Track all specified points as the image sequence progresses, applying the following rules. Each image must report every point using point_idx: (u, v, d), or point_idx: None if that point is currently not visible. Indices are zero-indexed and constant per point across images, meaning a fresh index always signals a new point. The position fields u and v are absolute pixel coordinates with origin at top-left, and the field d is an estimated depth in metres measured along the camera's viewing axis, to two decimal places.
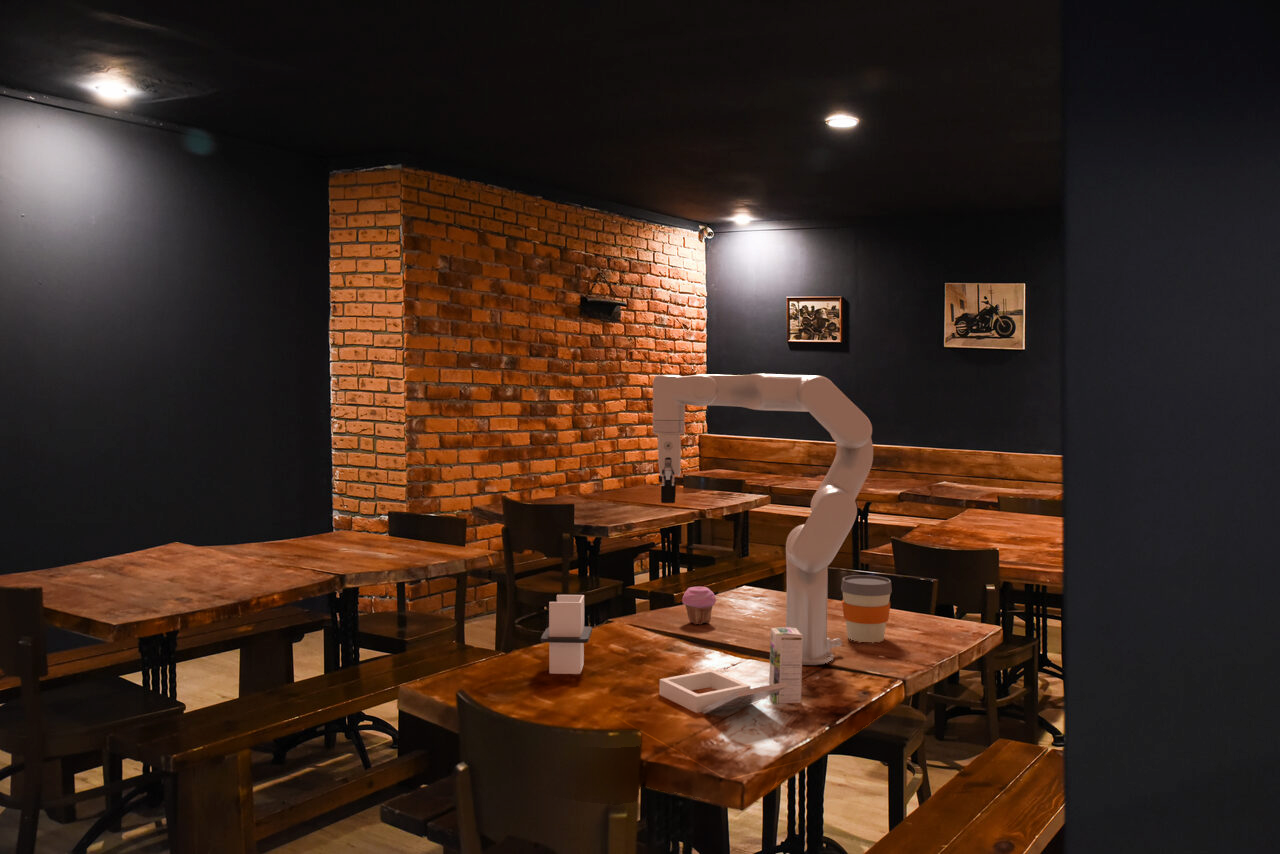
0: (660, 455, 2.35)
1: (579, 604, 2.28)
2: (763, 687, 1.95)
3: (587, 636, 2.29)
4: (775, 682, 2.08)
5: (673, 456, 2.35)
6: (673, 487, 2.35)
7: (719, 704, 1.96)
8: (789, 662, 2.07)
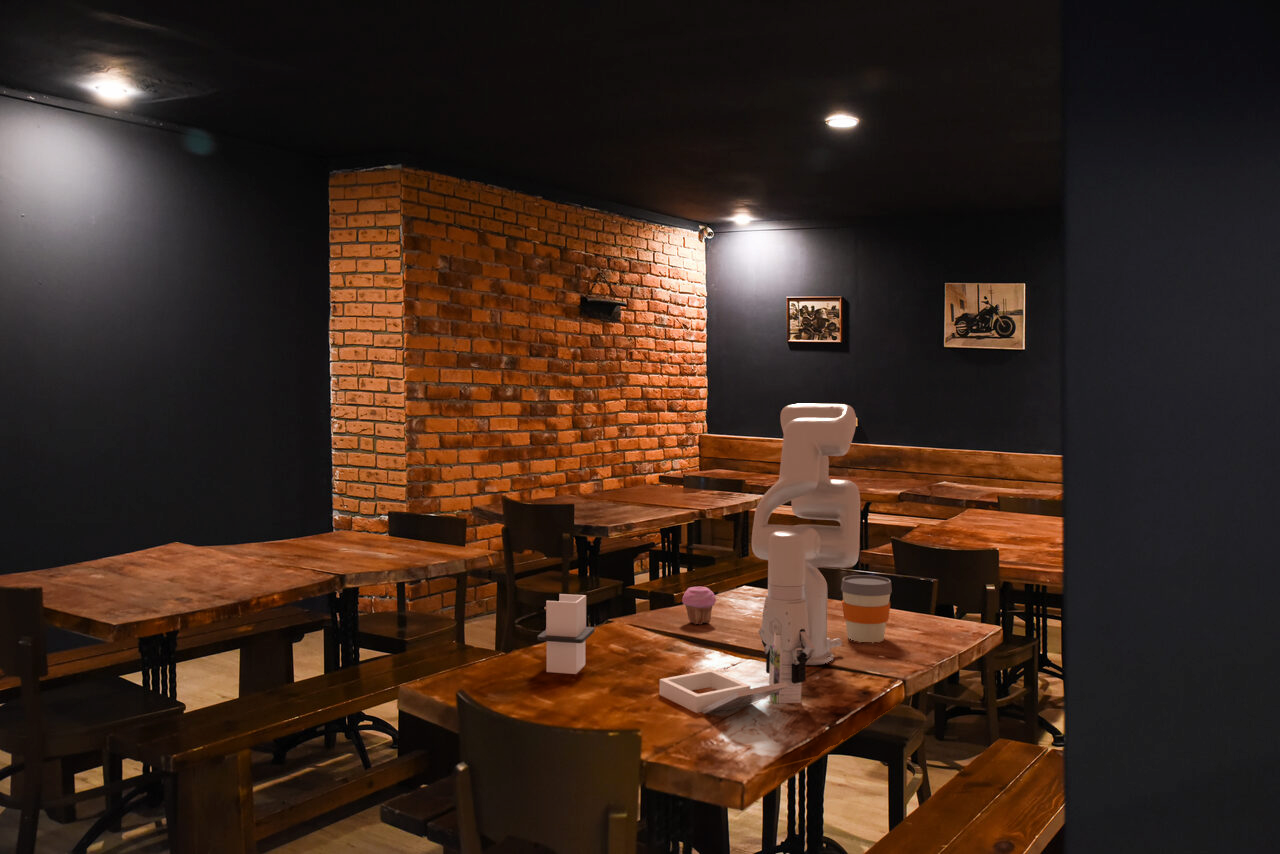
0: None
1: (575, 604, 2.28)
2: (763, 687, 1.95)
3: (583, 636, 2.28)
4: (775, 682, 2.08)
5: None
6: None
7: (719, 704, 1.96)
8: (789, 662, 2.07)
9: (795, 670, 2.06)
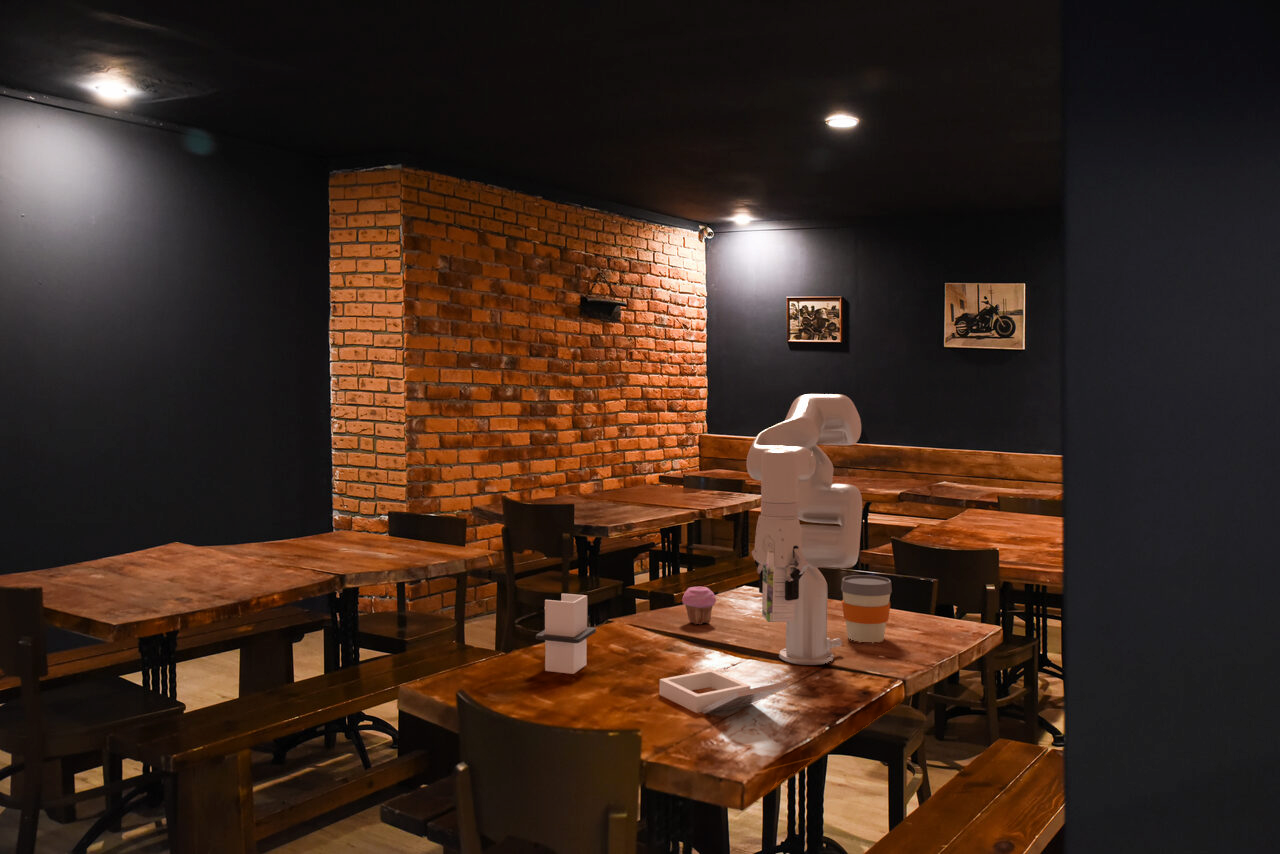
0: None
1: (572, 604, 2.28)
2: (763, 687, 1.95)
3: (580, 637, 2.28)
4: (768, 600, 2.07)
5: None
6: None
7: (719, 704, 1.96)
8: (783, 580, 2.07)
9: (788, 587, 2.05)
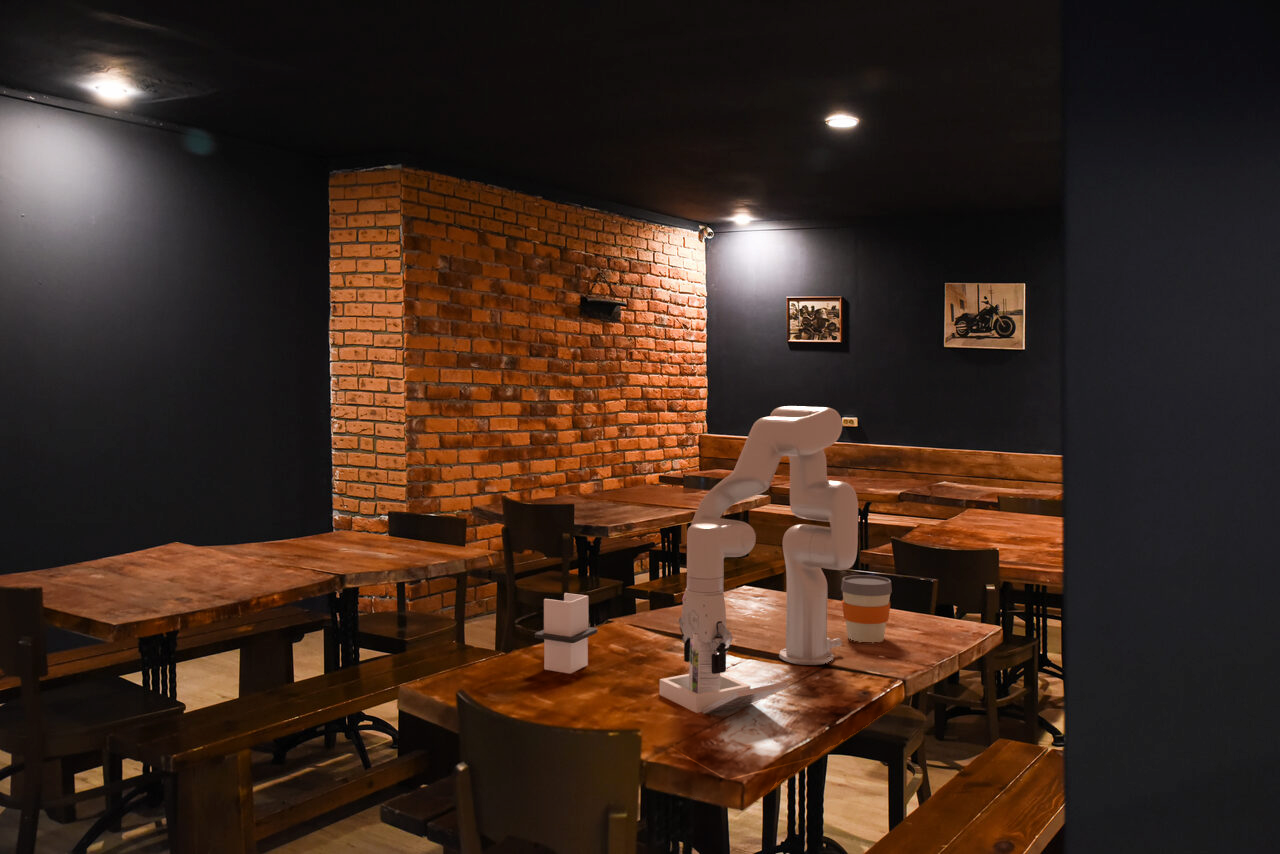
0: None
1: (569, 604, 2.28)
2: (763, 687, 1.95)
3: (577, 637, 2.28)
4: (693, 681, 2.08)
5: None
6: None
7: (719, 704, 1.96)
8: (708, 662, 2.08)
9: (715, 660, 2.06)
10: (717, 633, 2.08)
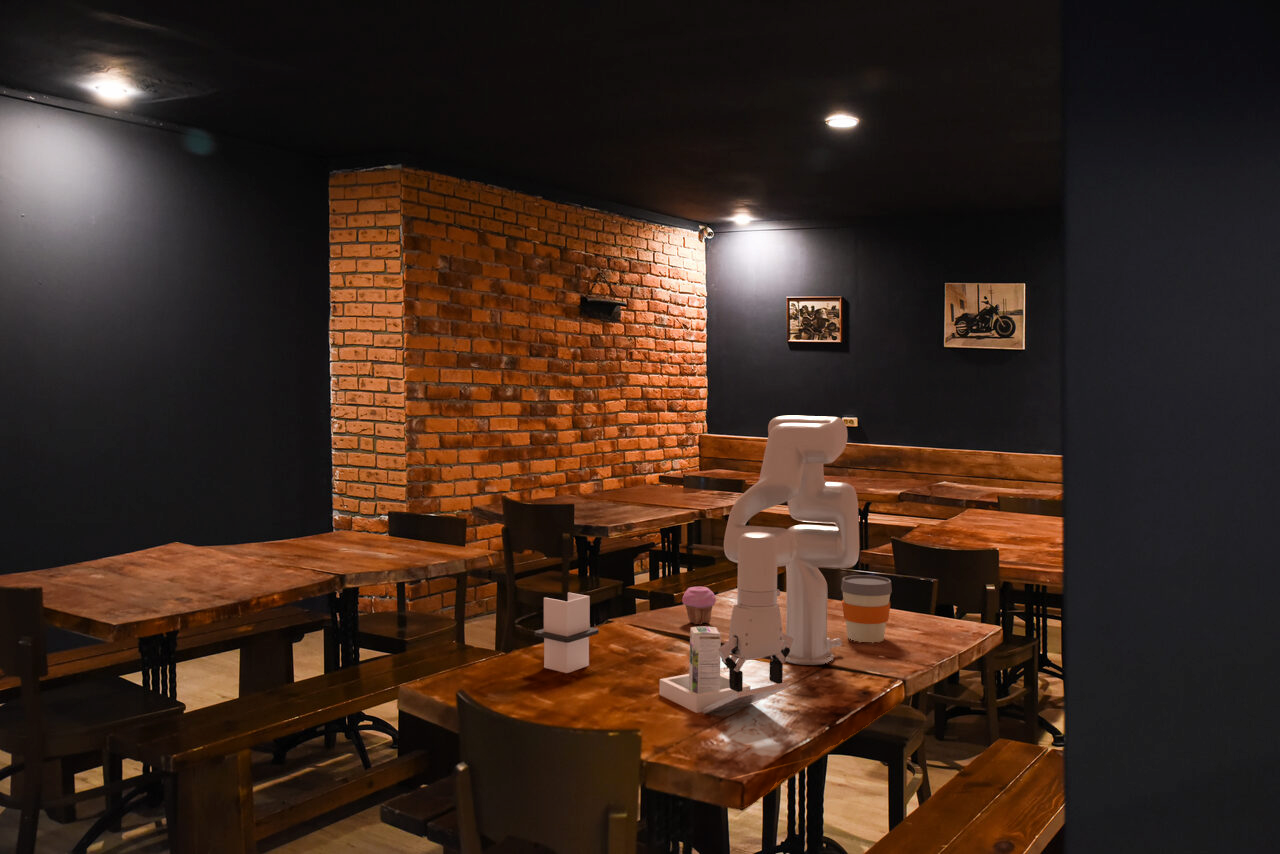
0: (781, 628, 1.96)
1: (566, 603, 2.28)
2: (763, 688, 1.95)
3: (573, 636, 2.28)
4: (693, 681, 2.08)
5: None
6: None
7: (719, 704, 1.96)
8: (708, 662, 2.08)
9: None
10: None
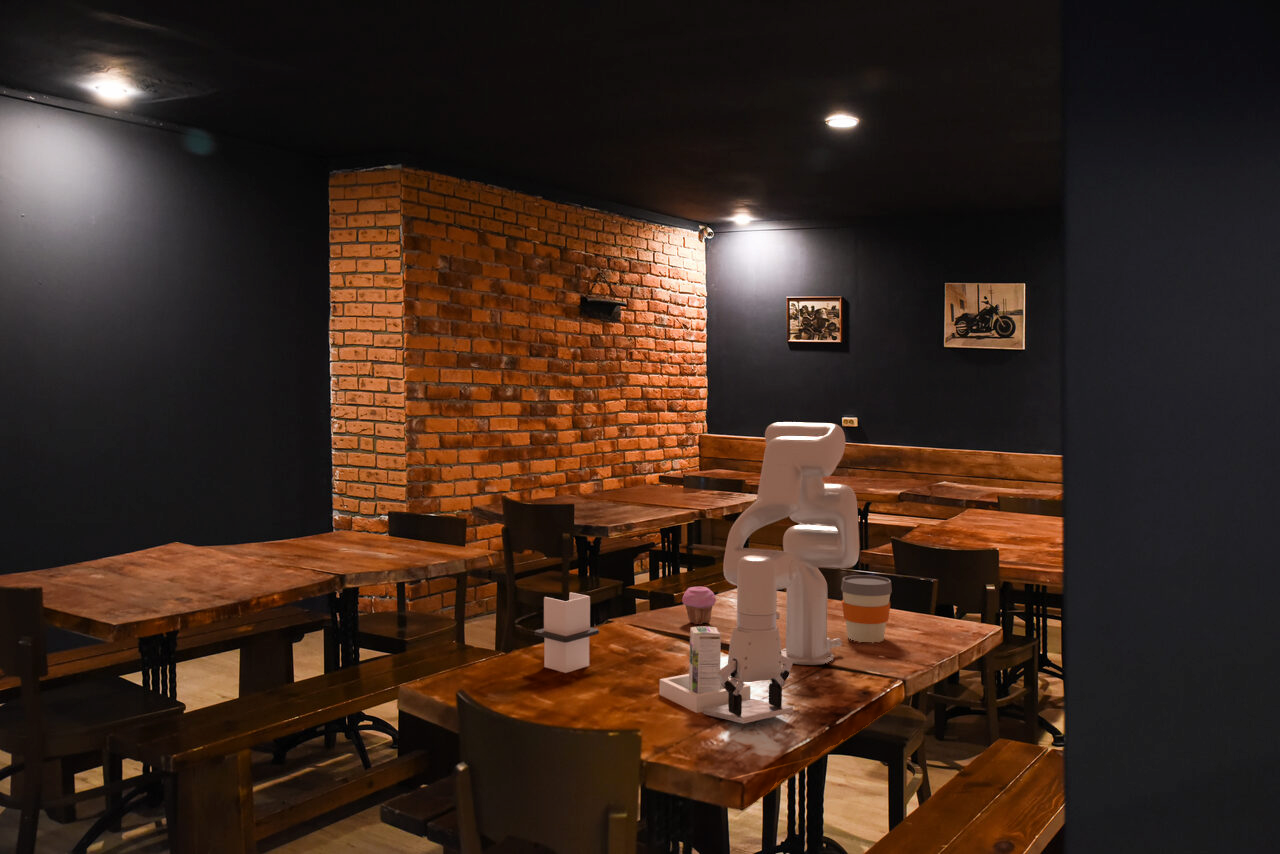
0: (781, 652, 1.96)
1: (564, 603, 2.28)
2: (769, 713, 1.93)
3: (572, 636, 2.28)
4: (693, 681, 2.08)
5: None
6: None
7: (722, 717, 1.96)
8: (708, 662, 2.08)
9: None
10: None
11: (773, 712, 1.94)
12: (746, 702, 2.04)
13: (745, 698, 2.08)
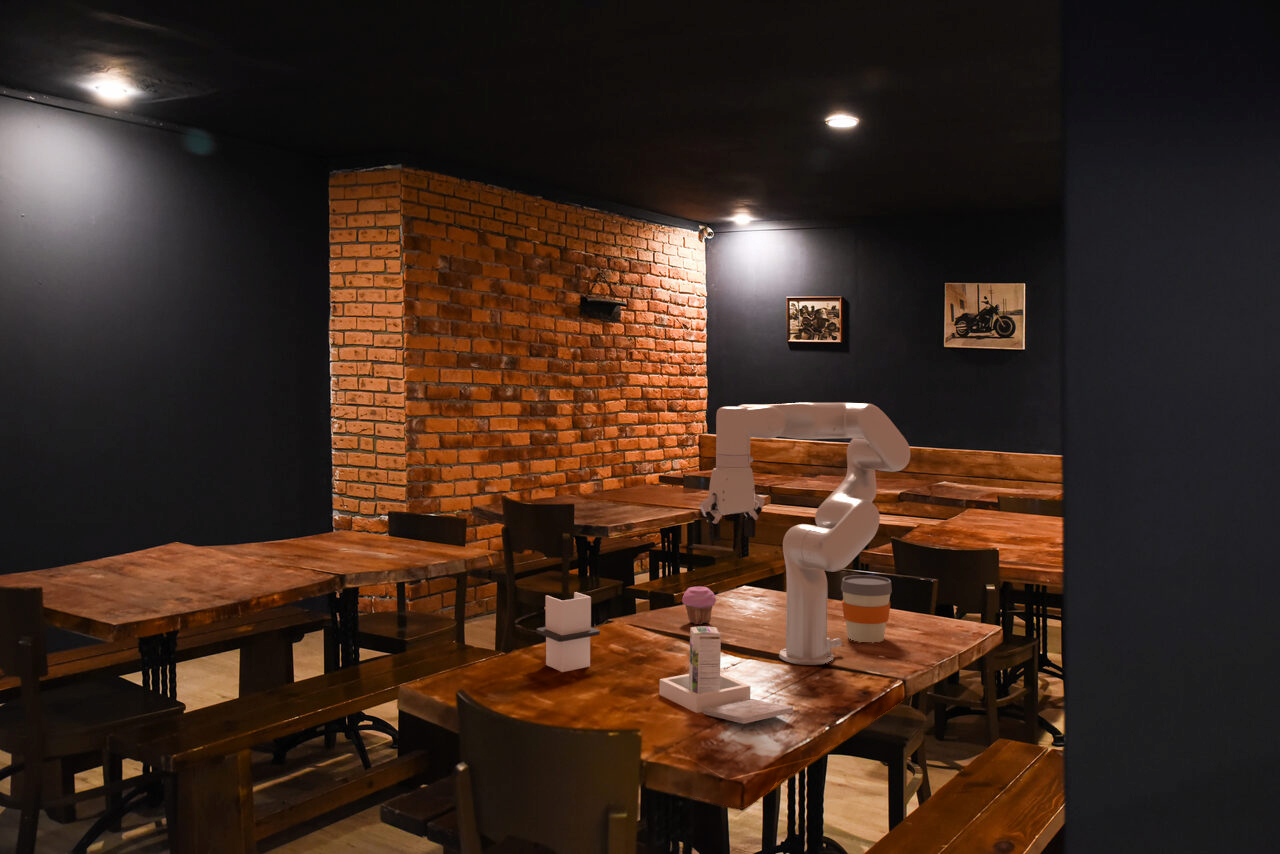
0: (754, 489, 2.28)
1: (561, 602, 2.29)
2: (769, 713, 1.93)
3: (567, 636, 2.29)
4: (693, 681, 2.08)
5: None
6: None
7: (722, 717, 1.96)
8: (708, 662, 2.08)
9: None
10: None
11: (773, 712, 1.94)
12: (746, 702, 2.04)
13: (745, 698, 2.08)
